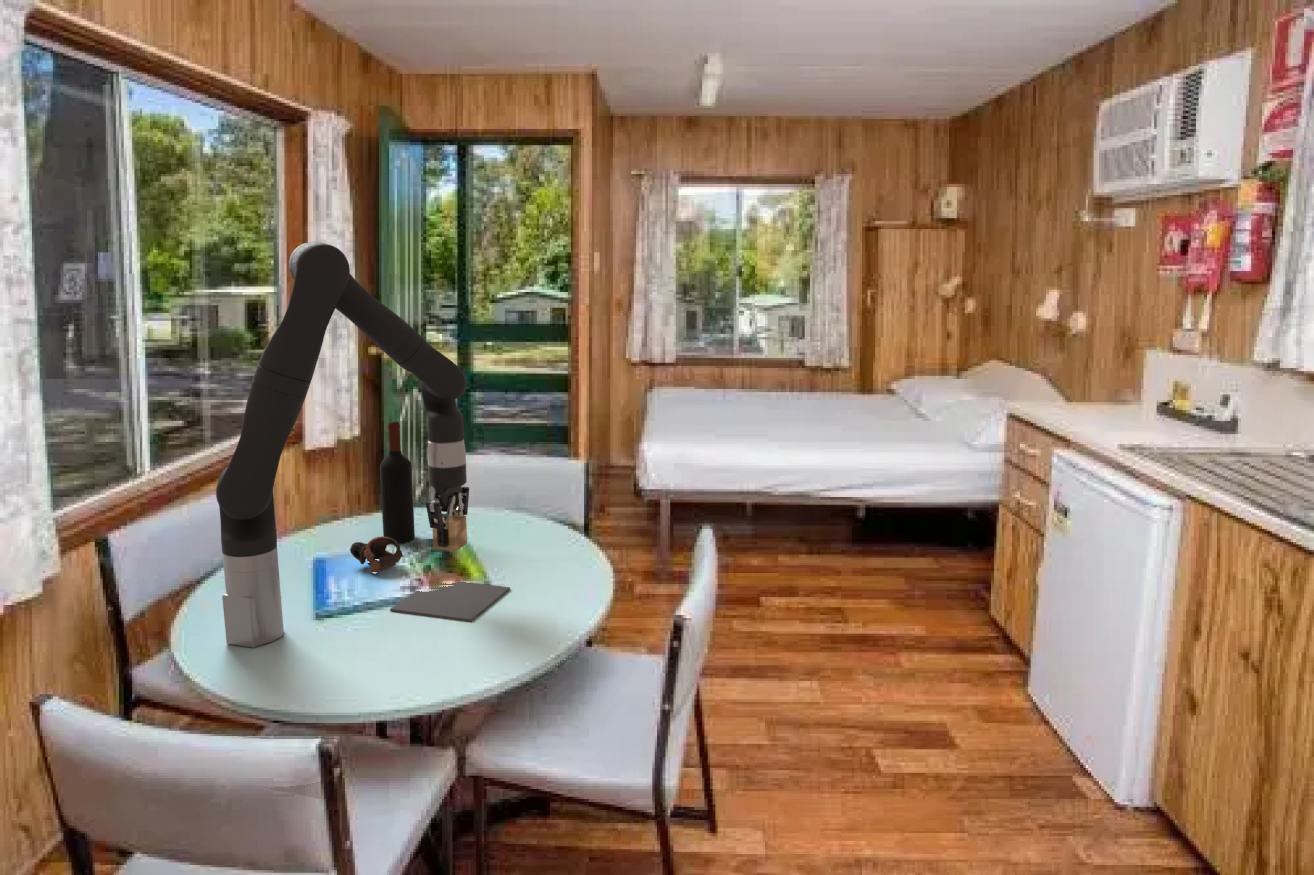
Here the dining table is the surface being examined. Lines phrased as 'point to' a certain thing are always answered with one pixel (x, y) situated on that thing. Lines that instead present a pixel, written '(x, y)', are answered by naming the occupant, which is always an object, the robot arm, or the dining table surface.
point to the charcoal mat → (452, 601)
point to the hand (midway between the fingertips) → (450, 541)
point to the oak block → (453, 534)
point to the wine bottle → (397, 490)
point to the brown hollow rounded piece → (377, 553)
